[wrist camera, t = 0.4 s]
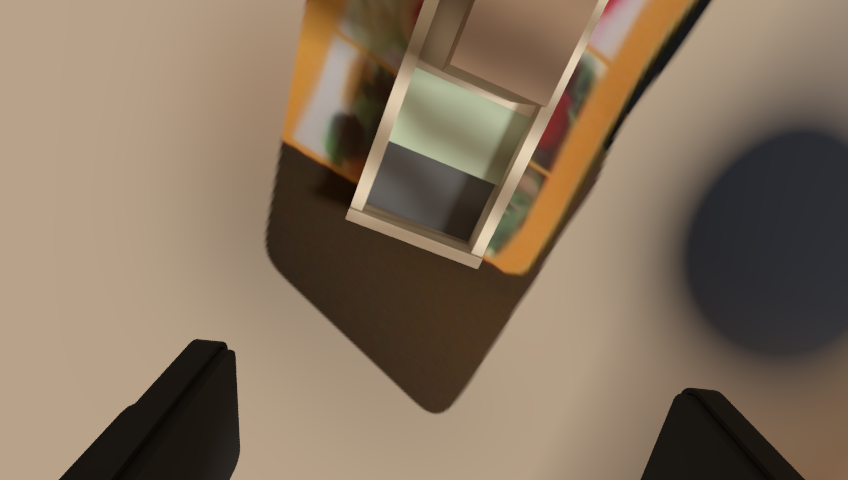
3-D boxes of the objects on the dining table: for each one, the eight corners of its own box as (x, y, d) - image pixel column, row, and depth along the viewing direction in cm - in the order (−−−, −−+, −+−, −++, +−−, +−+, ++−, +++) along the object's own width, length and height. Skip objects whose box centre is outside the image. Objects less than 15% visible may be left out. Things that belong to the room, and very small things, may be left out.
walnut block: (479, -26, 30) (506, -79, 20) (553, 9, 31) (611, -25, 21) (441, 71, 32) (449, 64, 23) (511, 102, 33) (546, 107, 23)
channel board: (483, -156, 28) (491, -188, 25) (633, -77, 30) (658, -97, 27) (352, 207, 37) (345, 219, 34) (473, 254, 39) (477, 269, 36)
